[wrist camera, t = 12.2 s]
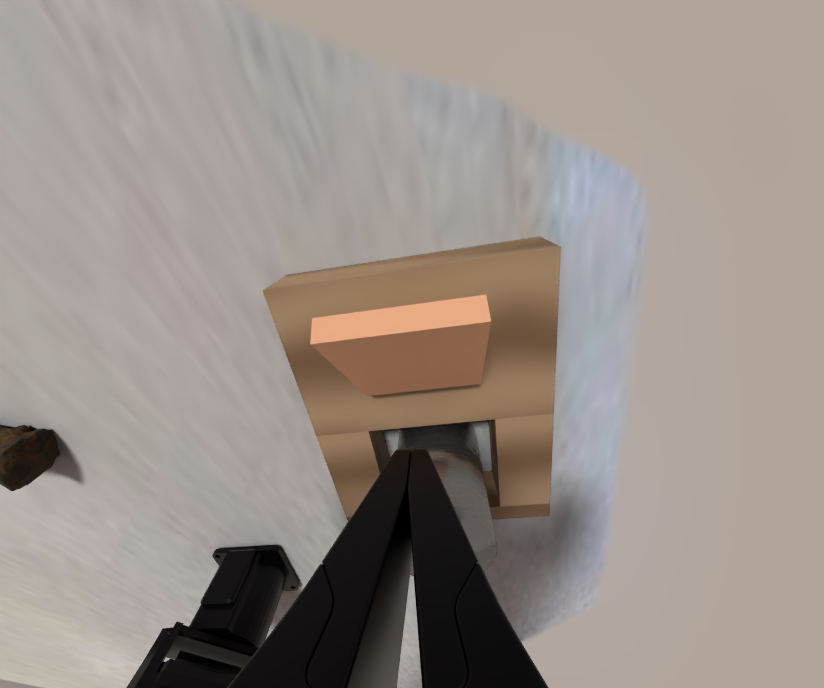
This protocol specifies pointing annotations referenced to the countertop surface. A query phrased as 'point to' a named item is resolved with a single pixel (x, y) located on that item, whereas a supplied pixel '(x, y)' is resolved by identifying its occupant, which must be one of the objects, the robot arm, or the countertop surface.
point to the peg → (459, 479)
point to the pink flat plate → (408, 345)
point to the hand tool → (25, 455)
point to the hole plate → (491, 400)
